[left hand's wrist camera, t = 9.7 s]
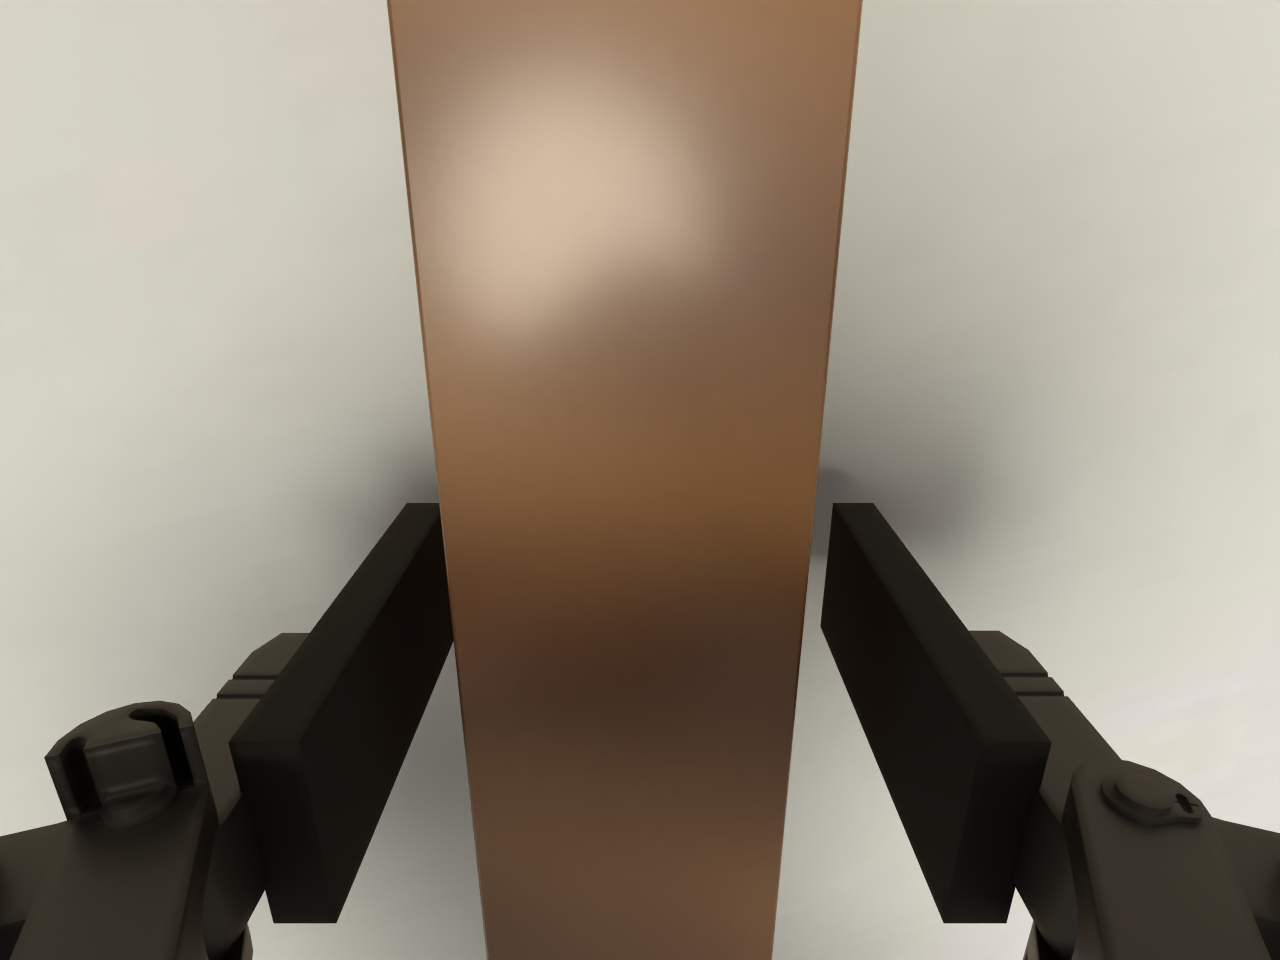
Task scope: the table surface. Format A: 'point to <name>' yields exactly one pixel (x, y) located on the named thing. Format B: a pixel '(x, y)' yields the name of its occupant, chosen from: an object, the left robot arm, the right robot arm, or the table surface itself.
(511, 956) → the post
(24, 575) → the table surface
